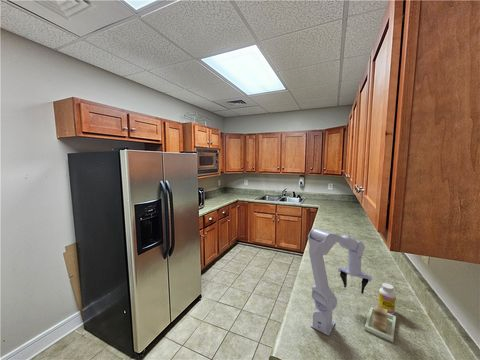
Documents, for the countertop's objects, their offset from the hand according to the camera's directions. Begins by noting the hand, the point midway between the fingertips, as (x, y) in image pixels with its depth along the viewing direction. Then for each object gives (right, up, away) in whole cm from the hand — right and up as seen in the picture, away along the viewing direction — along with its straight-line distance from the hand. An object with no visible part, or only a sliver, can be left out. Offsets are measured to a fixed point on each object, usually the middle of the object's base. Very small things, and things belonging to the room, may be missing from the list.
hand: (353, 289), depth 102 cm
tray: (+7, -11, -10) cm, 16 cm away
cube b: (+9, -10, -7) cm, 15 cm away
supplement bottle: (+16, -10, -1) cm, 19 cm away
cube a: (+4, -10, -13) cm, 17 cm away
